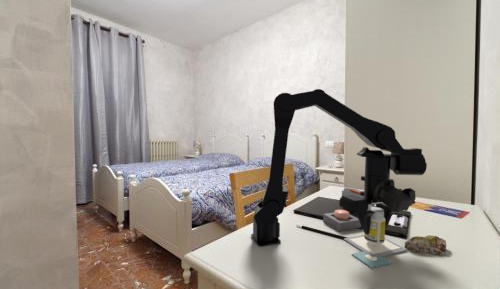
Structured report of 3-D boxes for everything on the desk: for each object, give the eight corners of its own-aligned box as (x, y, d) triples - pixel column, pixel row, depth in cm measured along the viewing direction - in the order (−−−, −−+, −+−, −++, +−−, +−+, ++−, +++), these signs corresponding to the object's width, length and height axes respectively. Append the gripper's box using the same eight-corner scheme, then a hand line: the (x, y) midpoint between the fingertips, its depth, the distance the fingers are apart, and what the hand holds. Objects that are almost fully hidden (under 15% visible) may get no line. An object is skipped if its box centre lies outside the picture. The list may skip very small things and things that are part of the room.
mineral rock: (425, 230, 68) (453, 235, 60) (429, 247, 67) (458, 253, 60) (392, 235, 66) (417, 240, 58) (395, 252, 65) (420, 260, 58)
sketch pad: (372, 258, 57) (372, 256, 57) (343, 239, 67) (343, 238, 67) (407, 251, 61) (407, 249, 61) (375, 234, 70) (375, 232, 70)
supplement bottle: (379, 236, 66) (381, 206, 65) (387, 245, 61) (389, 212, 61) (361, 235, 66) (362, 205, 66) (368, 244, 62) (369, 211, 61)
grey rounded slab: (375, 218, 83) (376, 195, 82) (368, 219, 82) (369, 196, 81) (345, 205, 96) (345, 185, 96) (339, 206, 95) (339, 186, 95)
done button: (340, 222, 75) (340, 215, 74) (331, 217, 79) (331, 210, 79) (352, 220, 76) (352, 213, 76) (342, 215, 80) (342, 209, 80)
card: (371, 268, 54) (371, 266, 53) (351, 254, 59) (351, 253, 59) (391, 263, 55) (391, 261, 55) (371, 250, 61) (371, 249, 61)
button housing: (339, 231, 72) (339, 223, 72) (323, 221, 80) (323, 213, 80) (360, 227, 75) (361, 219, 75) (343, 218, 83) (343, 211, 82)
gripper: (373, 183, 52) (370, 254, 53) (435, 178, 58) (430, 241, 59) (339, 173, 62) (336, 232, 64) (393, 170, 68) (391, 223, 70)
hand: (374, 232), depth 64 cm, fingers closed on supplement bottle, 5 cm apart
